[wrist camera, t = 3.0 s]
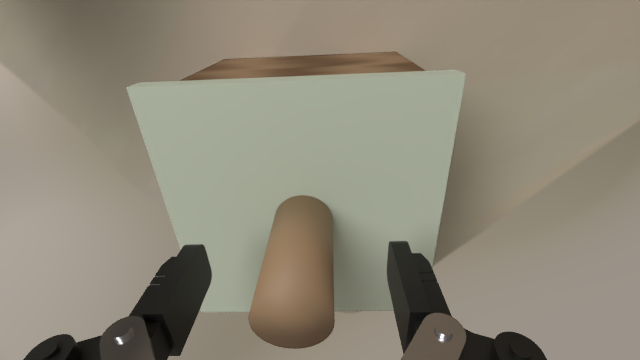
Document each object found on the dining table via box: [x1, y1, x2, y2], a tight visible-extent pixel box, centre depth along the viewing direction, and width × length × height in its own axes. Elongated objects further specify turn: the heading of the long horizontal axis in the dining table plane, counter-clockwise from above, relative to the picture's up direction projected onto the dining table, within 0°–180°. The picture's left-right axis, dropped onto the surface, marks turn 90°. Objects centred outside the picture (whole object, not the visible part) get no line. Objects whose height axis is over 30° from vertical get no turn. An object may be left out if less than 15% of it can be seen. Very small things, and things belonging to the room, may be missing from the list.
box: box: [180, 52, 425, 81], centre depth 22 cm, size 13×13×11 cm
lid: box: [126, 70, 466, 349], centre depth 14 cm, size 14×14×7 cm
